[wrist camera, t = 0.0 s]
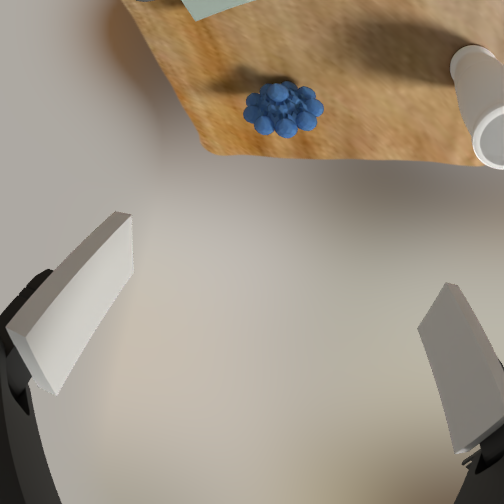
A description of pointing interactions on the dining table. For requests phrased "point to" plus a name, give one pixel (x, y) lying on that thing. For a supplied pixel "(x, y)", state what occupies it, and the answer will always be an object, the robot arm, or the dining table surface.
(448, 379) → the robot arm
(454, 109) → the dining table surface
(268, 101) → the grapes
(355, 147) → the dining table surface
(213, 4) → the rail stand
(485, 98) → the jar
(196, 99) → the dining table surface
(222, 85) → the dining table surface
